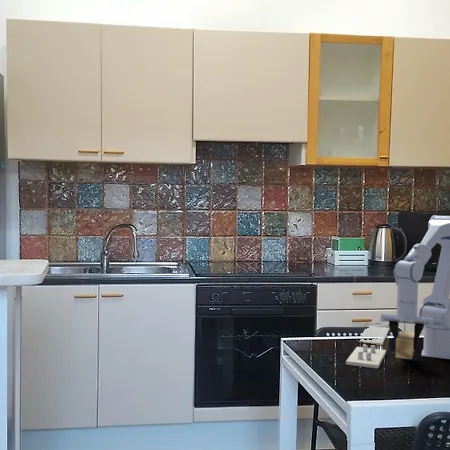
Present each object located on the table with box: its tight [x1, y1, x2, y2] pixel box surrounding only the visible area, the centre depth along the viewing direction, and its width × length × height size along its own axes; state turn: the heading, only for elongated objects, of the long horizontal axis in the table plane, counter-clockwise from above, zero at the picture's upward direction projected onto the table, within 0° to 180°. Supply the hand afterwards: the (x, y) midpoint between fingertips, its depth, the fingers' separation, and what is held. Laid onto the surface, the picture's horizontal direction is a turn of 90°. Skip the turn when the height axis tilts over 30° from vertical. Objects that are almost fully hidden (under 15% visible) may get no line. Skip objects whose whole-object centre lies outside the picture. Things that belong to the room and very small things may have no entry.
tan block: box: [395, 330, 415, 360], centre depth 166 cm, size 4×14×5 cm, turn 158°
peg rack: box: [345, 344, 387, 369], centre depth 170 cm, size 9×20×3 cm, turn 158°
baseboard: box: [359, 322, 391, 345], centre depth 204 cm, size 30×3×10 cm
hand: (405, 347), depth 166 cm, fingers closed on tan block, 4 cm apart
